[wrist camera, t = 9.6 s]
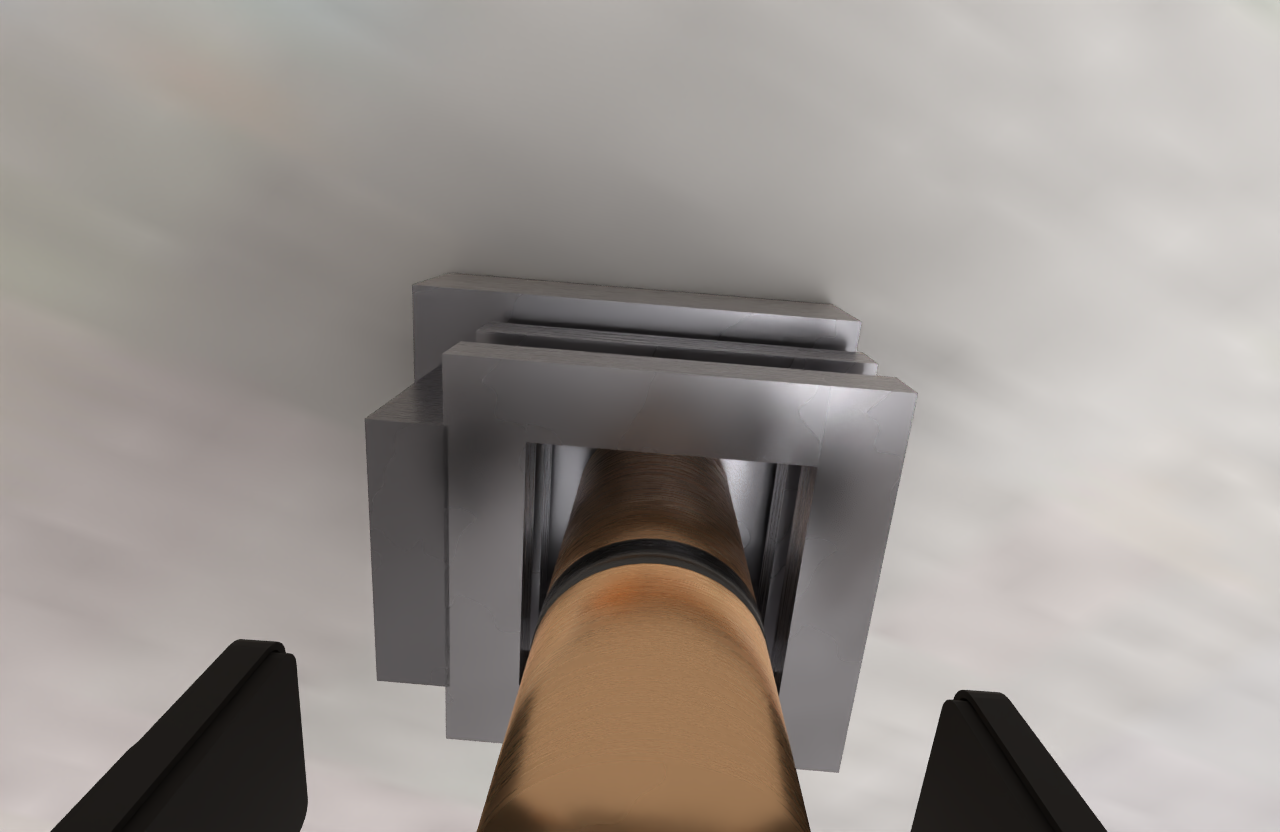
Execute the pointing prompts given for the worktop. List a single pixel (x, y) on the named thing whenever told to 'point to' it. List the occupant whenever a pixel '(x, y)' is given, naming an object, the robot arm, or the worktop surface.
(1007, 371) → the worktop surface
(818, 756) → the bracket
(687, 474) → the copper tube
